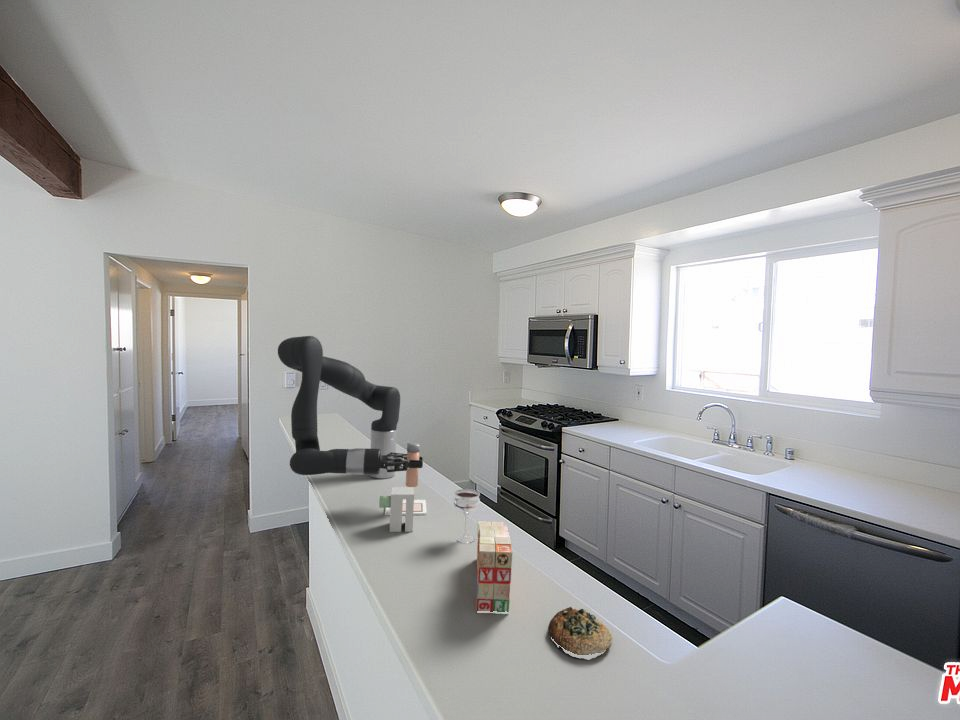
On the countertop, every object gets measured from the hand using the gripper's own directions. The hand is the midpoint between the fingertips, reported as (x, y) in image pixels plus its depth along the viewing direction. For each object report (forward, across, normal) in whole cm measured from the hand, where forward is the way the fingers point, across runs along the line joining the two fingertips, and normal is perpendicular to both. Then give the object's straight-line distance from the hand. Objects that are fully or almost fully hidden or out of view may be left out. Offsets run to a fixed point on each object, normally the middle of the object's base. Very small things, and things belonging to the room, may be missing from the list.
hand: (422, 462), depth 133 cm
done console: (-5, -13, +14) cm, 20 cm away
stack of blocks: (+14, -42, +15) cm, 47 cm away
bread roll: (+27, -61, +15) cm, 68 cm away
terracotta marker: (-3, 0, +7) cm, 8 cm away
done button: (-9, -13, +9) cm, 18 cm away
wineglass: (+11, -21, +15) cm, 28 cm away
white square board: (-4, +1, +14) cm, 15 cm away
